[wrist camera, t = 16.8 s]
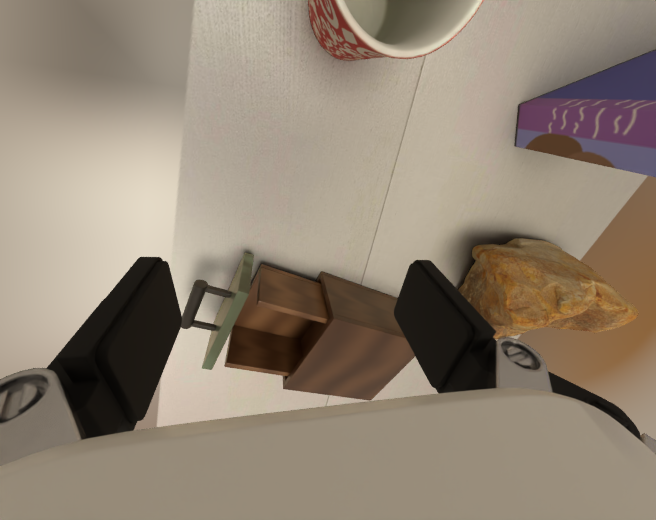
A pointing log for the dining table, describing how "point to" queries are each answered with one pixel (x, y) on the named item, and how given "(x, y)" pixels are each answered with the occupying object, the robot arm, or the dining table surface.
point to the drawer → (261, 319)
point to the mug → (388, 26)
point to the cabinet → (352, 344)
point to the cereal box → (598, 118)
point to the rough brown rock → (540, 290)
